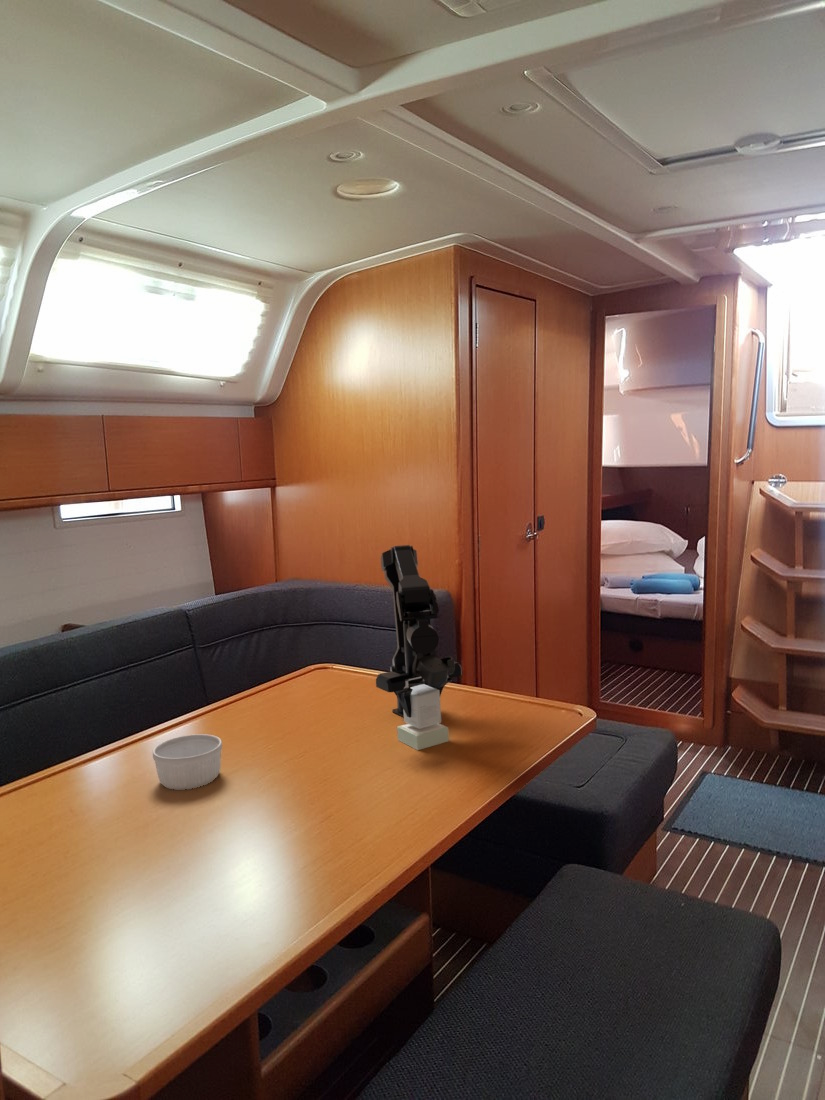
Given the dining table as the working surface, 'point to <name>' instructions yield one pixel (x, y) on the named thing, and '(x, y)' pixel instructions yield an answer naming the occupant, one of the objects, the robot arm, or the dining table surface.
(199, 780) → the ramekin
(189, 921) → the dining table surface
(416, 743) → the base block
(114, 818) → the dining table surface
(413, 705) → the skincare box
